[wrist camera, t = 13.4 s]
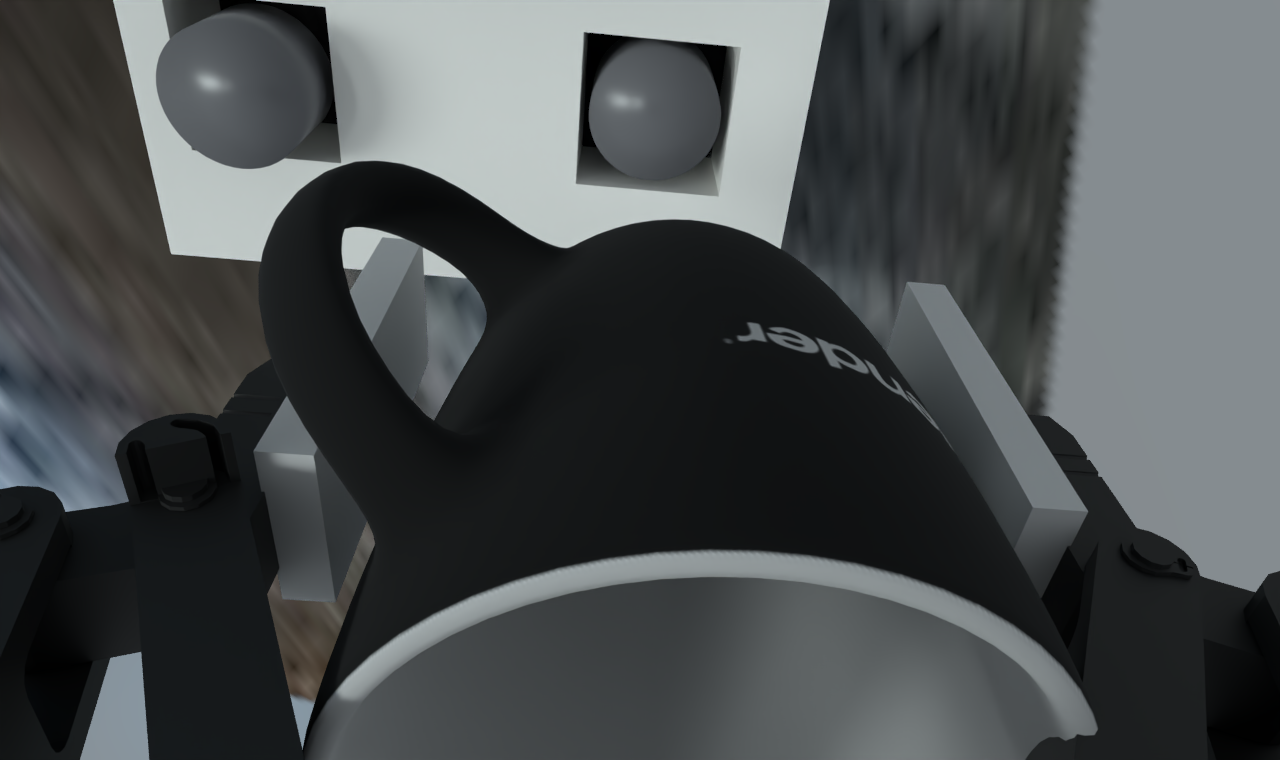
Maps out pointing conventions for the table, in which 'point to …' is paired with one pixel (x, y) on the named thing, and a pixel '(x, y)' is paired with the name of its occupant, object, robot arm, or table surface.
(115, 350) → the table surface
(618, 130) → the grey dome
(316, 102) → the dark grey rounded piece
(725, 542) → the mug
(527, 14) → the white rectangular box
